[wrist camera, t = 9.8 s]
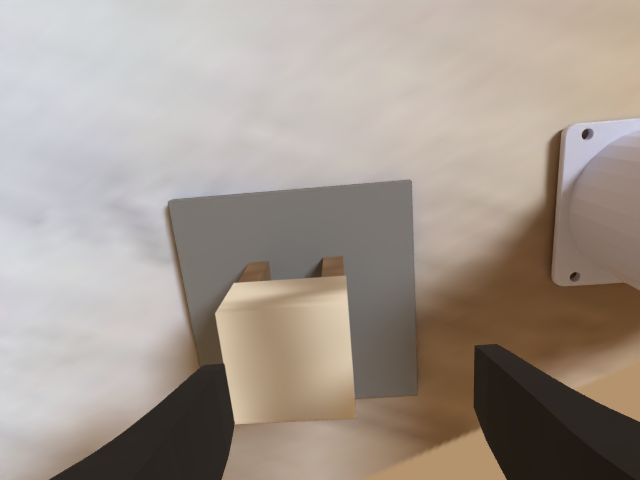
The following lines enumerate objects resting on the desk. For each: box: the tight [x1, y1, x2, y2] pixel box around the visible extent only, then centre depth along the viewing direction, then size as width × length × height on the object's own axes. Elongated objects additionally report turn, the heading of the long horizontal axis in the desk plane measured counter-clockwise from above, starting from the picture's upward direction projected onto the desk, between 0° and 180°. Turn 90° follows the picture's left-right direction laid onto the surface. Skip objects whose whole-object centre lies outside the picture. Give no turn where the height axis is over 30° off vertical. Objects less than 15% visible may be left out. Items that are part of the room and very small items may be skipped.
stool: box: [215, 256, 356, 424], centre depth 19 cm, size 5×5×6 cm
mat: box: [168, 180, 418, 399], centre depth 22 cm, size 12×12×1 cm
